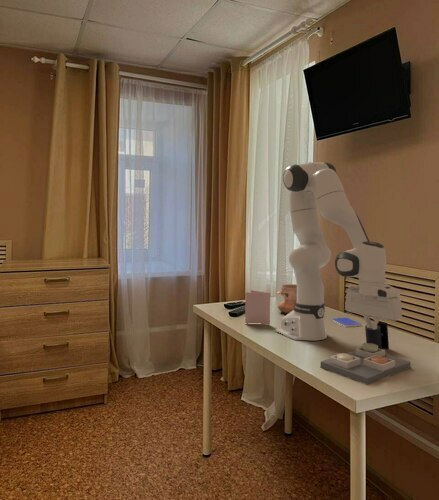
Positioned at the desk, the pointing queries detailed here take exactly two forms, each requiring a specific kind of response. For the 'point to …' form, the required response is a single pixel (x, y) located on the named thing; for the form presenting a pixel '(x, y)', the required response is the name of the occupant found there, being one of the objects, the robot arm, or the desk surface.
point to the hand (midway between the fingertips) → (371, 328)
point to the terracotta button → (379, 359)
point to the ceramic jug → (288, 297)
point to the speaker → (378, 335)
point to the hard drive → (346, 322)
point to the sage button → (370, 347)
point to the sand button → (345, 357)
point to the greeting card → (257, 307)
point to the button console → (365, 366)
